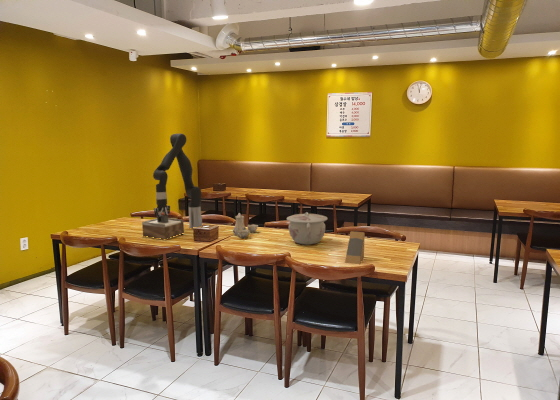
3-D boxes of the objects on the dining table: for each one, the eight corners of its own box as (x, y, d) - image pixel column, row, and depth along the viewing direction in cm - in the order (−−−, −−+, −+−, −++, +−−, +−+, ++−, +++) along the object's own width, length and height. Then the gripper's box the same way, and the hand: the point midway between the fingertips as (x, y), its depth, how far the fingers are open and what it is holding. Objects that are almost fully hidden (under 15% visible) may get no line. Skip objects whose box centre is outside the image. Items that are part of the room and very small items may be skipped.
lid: (161, 220, 312) (161, 212, 311) (181, 222, 302) (180, 214, 301) (144, 224, 298) (144, 216, 297) (164, 227, 288) (164, 218, 287)
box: (162, 231, 315) (161, 217, 313) (184, 234, 304) (183, 219, 302) (143, 236, 298) (142, 221, 297) (165, 240, 288) (164, 224, 286)
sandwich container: (344, 263, 231) (344, 237, 228) (349, 255, 245) (350, 231, 242) (359, 264, 227) (359, 238, 225) (364, 257, 242) (364, 232, 239)
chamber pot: (302, 235, 296) (302, 207, 292) (335, 241, 278) (335, 211, 275) (277, 243, 274) (277, 213, 271) (311, 250, 257) (311, 217, 254)
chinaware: (248, 242, 286) (250, 218, 283) (226, 238, 289) (227, 215, 286) (259, 232, 313) (260, 211, 310) (238, 230, 316) (239, 208, 313)
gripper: (165, 196, 305) (166, 218, 307) (150, 199, 293) (151, 222, 295) (172, 197, 301) (173, 219, 304) (157, 199, 289) (159, 223, 291)
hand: (162, 220), depth 299 cm, fingers open, 6 cm apart
